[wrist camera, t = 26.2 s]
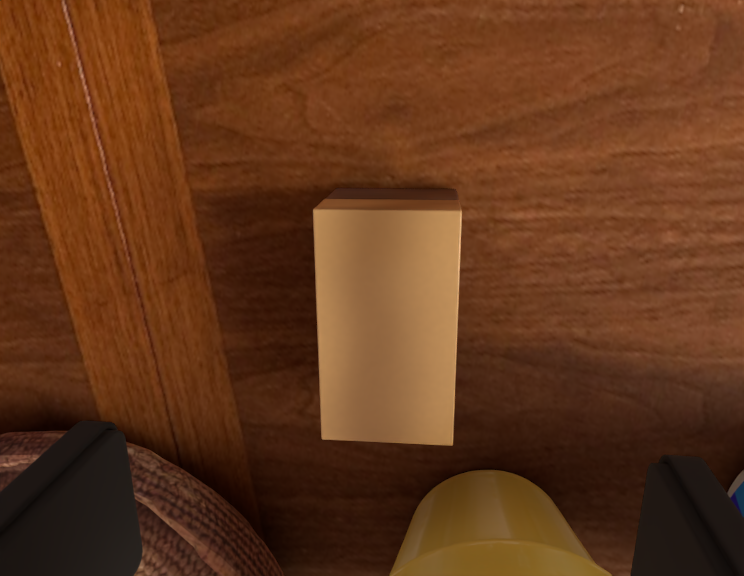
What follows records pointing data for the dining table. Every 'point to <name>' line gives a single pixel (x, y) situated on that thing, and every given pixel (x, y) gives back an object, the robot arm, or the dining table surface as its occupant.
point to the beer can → (738, 492)
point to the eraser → (387, 313)
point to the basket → (166, 514)
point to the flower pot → (491, 531)
